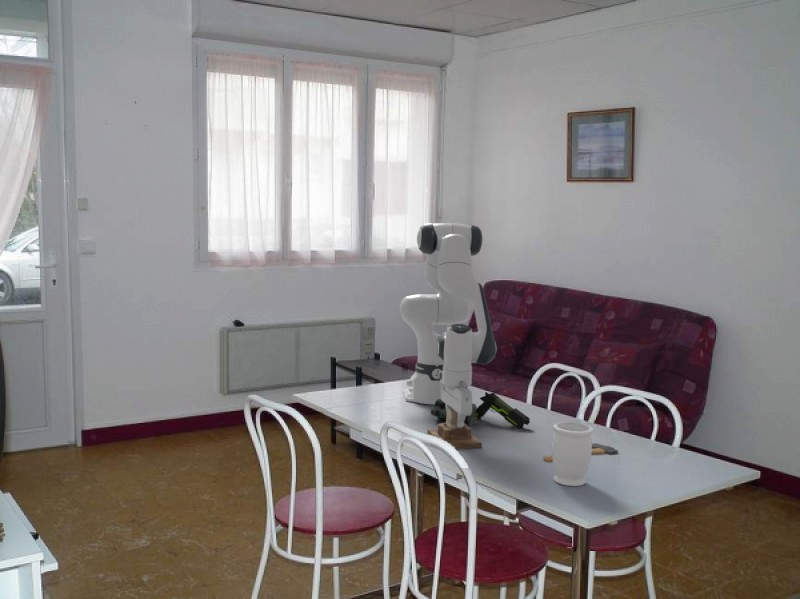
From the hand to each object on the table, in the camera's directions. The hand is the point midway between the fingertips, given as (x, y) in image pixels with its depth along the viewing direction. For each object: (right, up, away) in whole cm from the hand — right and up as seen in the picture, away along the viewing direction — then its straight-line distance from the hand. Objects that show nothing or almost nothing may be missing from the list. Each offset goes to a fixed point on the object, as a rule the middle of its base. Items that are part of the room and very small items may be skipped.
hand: (454, 422), depth 257 cm
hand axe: (+35, -9, -7) cm, 37 cm away
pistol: (+17, -4, +22) cm, 28 cm away
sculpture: (+2, -3, +23) cm, 24 cm away
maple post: (0, -4, 0) cm, 4 cm away
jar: (+28, -11, -33) cm, 45 cm away
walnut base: (0, -6, +1) cm, 6 cm away
